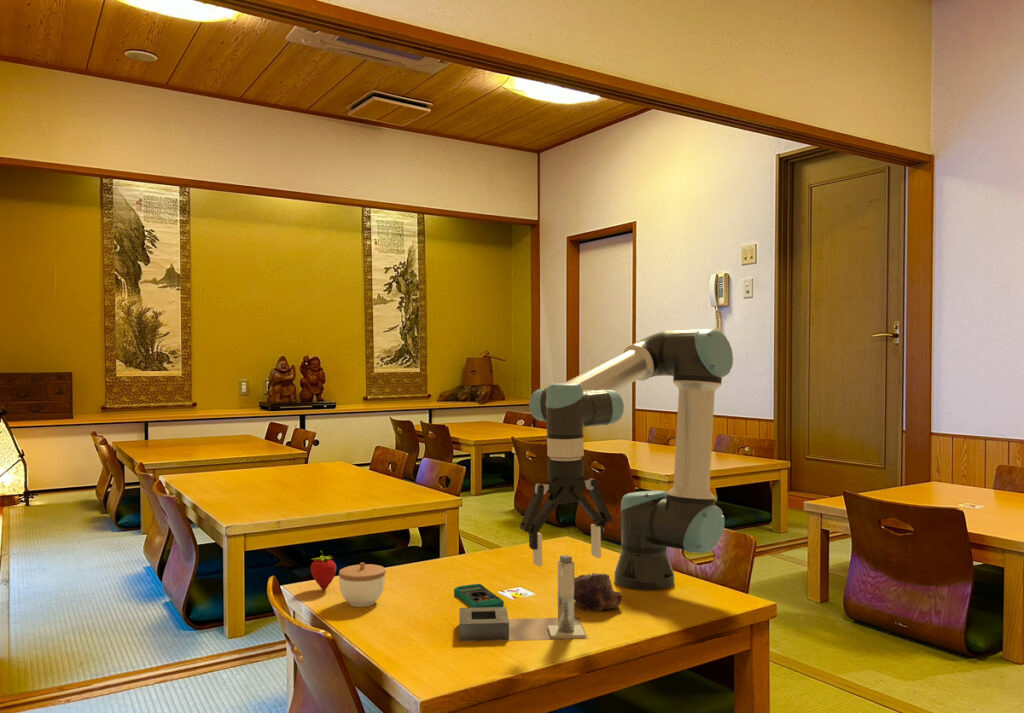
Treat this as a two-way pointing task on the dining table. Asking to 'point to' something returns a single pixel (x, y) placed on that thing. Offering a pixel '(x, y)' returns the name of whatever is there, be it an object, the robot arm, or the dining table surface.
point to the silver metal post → (566, 594)
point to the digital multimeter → (478, 596)
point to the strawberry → (323, 571)
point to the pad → (556, 634)
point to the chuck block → (483, 624)
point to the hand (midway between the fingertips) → (567, 560)
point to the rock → (595, 592)
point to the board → (532, 629)
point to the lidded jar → (362, 584)
